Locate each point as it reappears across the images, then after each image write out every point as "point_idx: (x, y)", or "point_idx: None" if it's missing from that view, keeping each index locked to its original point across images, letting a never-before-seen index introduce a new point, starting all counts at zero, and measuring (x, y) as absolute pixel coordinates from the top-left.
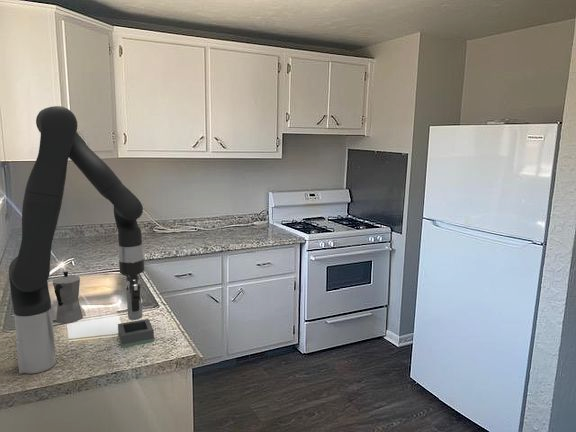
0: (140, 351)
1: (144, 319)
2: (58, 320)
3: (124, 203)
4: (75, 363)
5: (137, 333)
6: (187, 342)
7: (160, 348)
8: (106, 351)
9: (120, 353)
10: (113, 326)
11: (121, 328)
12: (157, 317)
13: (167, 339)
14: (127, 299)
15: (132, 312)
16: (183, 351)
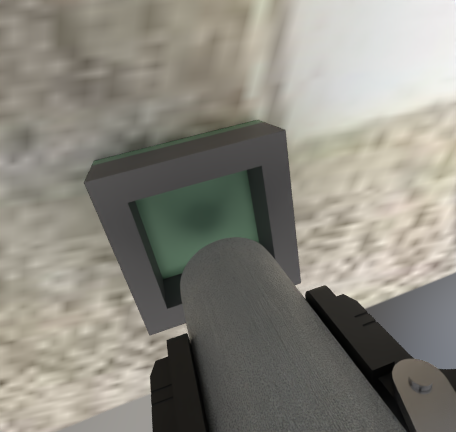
0: (44, 257)
1: (297, 267)
2: None
3: None
4: None
5: (120, 267)
6: (119, 402)
7: (72, 330)
8: (52, 76)
9: (22, 164)
10: (369, 77)
11: (209, 165)
12: (378, 263)
13: (159, 336)
14: (259, 386)
15: (188, 317)
16: (37, 408)
